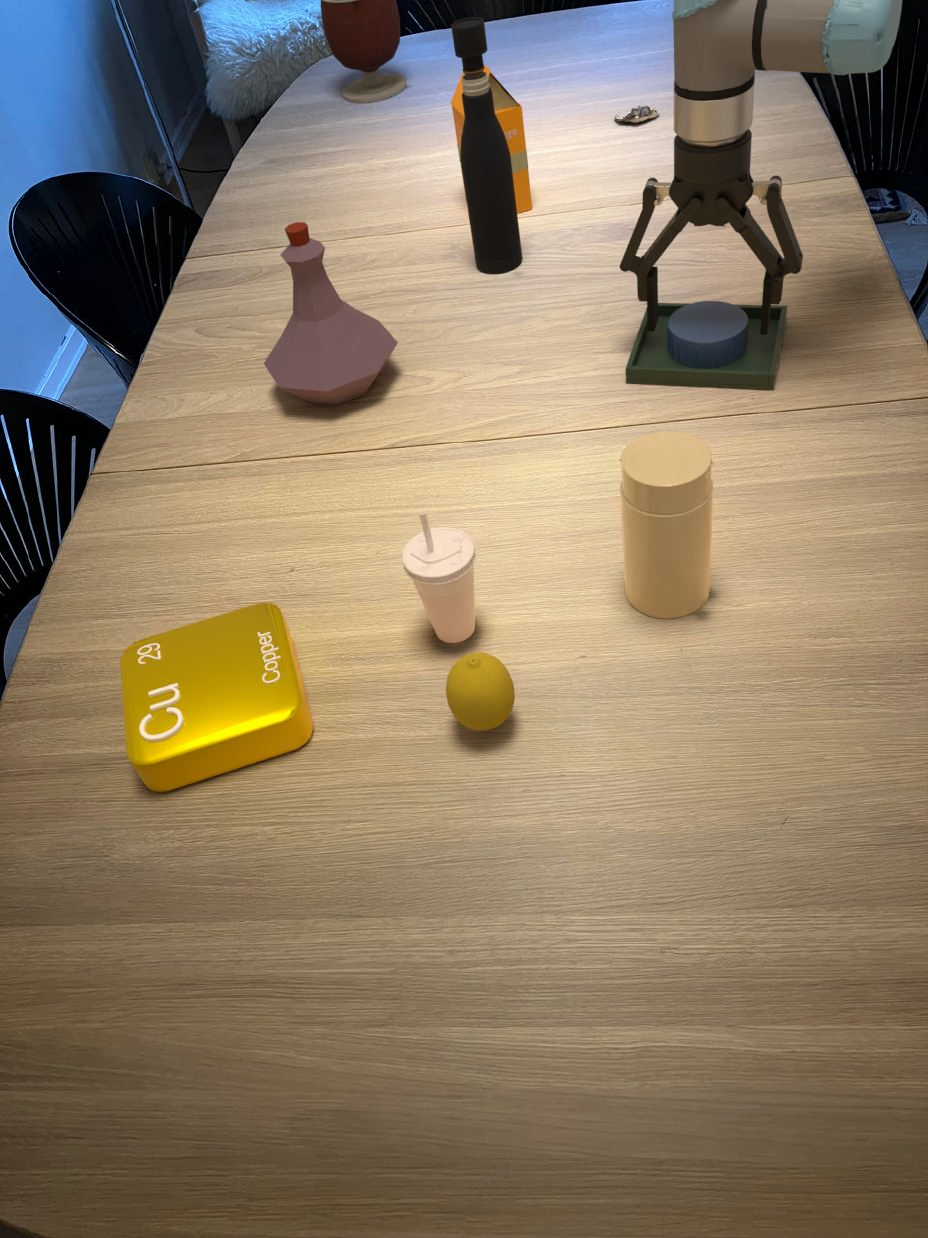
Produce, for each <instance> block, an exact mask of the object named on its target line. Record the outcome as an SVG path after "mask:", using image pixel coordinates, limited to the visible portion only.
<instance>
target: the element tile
mask: <svg viewBox="0 0 928 1238" xmlns="http://www.w3.org/2000/svg"><path fill="white" fill-rule="evenodd" d="M284 617H285V616H284V614H283V612H282V609H280V607H278V606H277V605H276V604H275V603H272V602H259V603H254V604H250V605H248V606H245V607H242V608H238V609H236V610H232V611H228V612H225V613H221V614H219V615H215V616H212V617H209V618H206V619H202V620H199V621H196V622H192V623H189V624H186V625H183V626H180V627H176V628H173V629H170V630H167V631H164V632H160V633H157V634H154V635H152V636H148V637H144V638H141V639H139V640H136V641H134V642H132V643H131V644H129V645H128V646H126V648H125V649H124V650H123V652H122V654H121V657H120V660H119V661H120V662H119V667H120V668H119V669H120V681H121V682H120V683H121V693H122V694H121V695H122V696H121V697H122V708H123V710H122V711H123V725H124V738H125V752H126V756H127V759H128V760H129V762H130V763H131V766H132V767H133V768H134V769H135V771H136V773H137V775H138V776H139V778H140V779H141V781H142V782H143V784H144V785H145V787H146V788H147V789H148V790H151V791H153V792H155V793H164V792H170V791H173V790H176V789H179V788H182V787H183V788H184V787H186V786H188V785H192V784H196V783H199V782H201V781H204V780H208V779H210V778H214V777H216V776H220V775H223V774H225V773H230V772H231V771H236V770H238V769H241V768H245V767H247V766H251V765H253V764H257V763H260V762H263V761H265V760H269V759H272V758H275V757H279V756H281V755H285V754H287V753H291V752H293V751H295V750H298V749H300V748H301V747H303V746H304V745H306V744H308V742H309V740H310V739H311V738H312V734H313V730H314V722H313V718H312V714H311V710H310V705H309V702H308V698H307V694H306V689H305V686H304V681H303V677H302V674H301V668H300V665H299V660H298V657H297V653H296V648H295V644H294V641H293V637H292V635H291V632H290V630H289V627H288V624H287V622H286V619H285V618H284Z"/></svg>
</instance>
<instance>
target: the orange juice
mask: <svg viewBox="0 0 928 1238" xmlns="http://www.w3.org/2000/svg"><path fill="white" fill-rule="evenodd" d="M484 67H485V69H484V70H483V71H484V72H486V73H487V76H488V78H489V80H488V82H489V84H490V85H489V88H491V90H492V94H493V103H494V111H495V114H496V116H497V119H498V121H499V123H500V125H501V127H502V130H503V132H504V134H505V138H506V141H507V144H508V147H509V151H510V155H511V164H512V173H513V181H514V190H515V199H516V207H517V215H518V214H521V213H524V212H527V210H528V211H531V210H533V203H532V192H531V182H530V173H529V159H528V150H527V144H526V135H525V134H526V133H525V124H524V116H523V115H524V114H523V106H522V105H521V104H520V103H519V102H518V101H517V100H516V99H515V98H514V97H513V96H512V94H511V93H510V92H509V91H508V90H507V89H506V88H505V87H504V85H502V83H501V82H500V81H499V80H498V79H497V77H496V76H495V75H494V74H493V73H492V70H491V69H490V68H489V67H488V66H486V65H485V64H484ZM464 75H465V74H464V73H463V72H462V73H461V76H460V78H459V80H458V83H457V85H456V88H455V90H454V93H453V95H452V98H451V101H450V105H451V110H452V117H453V123H454V130H455V136H456V143H457V145H456V146H457V152H458V159H459V164H460V165H461V161H460V154H461V137H462V131H463V125H464V119H465V116H464V109H463V102H462V94H463V92H464V91H463V89H462V88H463V85H462V77H463V76H464ZM460 171H461V172H462V168H461V167H460ZM461 177H462V178H463V174H462V173H461ZM462 184H463V185H464V181H463V180H462ZM463 190H464V192H465V188H464V187H463ZM464 198H466V194H465V193H464ZM465 202H466V203H467V201H466V200H465ZM530 209H531V210H530Z"/></svg>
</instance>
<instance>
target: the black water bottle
mask: <svg viewBox="0 0 928 1238" xmlns="http://www.w3.org/2000/svg"><path fill="white" fill-rule="evenodd" d="M450 27H451V28H450V29H451V34H452V41H453V49H454V54H455V57H456V58H460V59H461V63H462V73H464V74H465V75H464V76H463V77H462V85H463V88H462V89H463V91H464V92H463V94H462V102H463V109H464V116H465V119H464V125H463V131H462V137H461V154H460V159H459V162H460V161H461V164H460V169H461V168H462V171H461V175H462V174H463V177H462V182H463V181H464V184H463V189H464V188H465V191H464V195H465V194H466V197H465V202H466V201H467V202H466V207H467V214H468V221H469V227H470V235H471V241H472V247H473V253H474V260H475V266H476V269H477V270H479V271H480V272H481V273H484V274H490V275H497V274H498V275H499V274H503V273H507V272H508V273H509V272H510V271H513V270H515V269H516V268H518V267H519V266H520V265H521V264H522V262H523V252H522V243H521V234H520V227H519V217H518V214H517V207H516V199H515V190H514V181H513V173H512V164H511V155H510V151H509V147H508V144H507V141H506V138H505V134H504V132H503V130H502V127H501V125H500V123H499V121H498V119H497V116H496V114H495V111H494V103H493V94H492V90H491V88H489V85H490V84H489V82H488V80H489V78H488V76H487V73H486V72H484V71H483V70H484V69H485V67H484V65H485V63H484V57H483V55H484V54H486V53H487V51H488V43H487V36H486V35H487V34H486V27H485V20H484V19H483V18H482V17H478V16H471V17H469V16H468V17H463V18H461V19H458V20H456V21H454V22H453V23H452V24H451V26H450Z"/></svg>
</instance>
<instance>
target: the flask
mask: <svg viewBox="0 0 928 1238" xmlns="http://www.w3.org/2000/svg"><path fill="white" fill-rule="evenodd" d="M284 232H285V234H286V236H287V239H288V242H289V244H288V245H287V246H286V248H284V249H283V251H282V252H281V253H280V257H281V258H282V259H283V260H284V262H285V263H286V264H287V265H288V266H289V268H290V273H291V277H292V313H291V316H290V318H289V320H288V321H287V324H286V326H285V328H284V329H283V332H282V333H281V335H280V336H279V339H278V340H277V341H276V343H275V345H274V347H273V348H272V350H271V351H270V352H269V354H268V356H267V357H266V359H264V362H263V365H264V367H265V368H266V370H267V371H268V372H269V374H270V376H271V377H272V378H273V380H274V382H275V383H276V385H277V386H278V388H279V389H281V390H284V391H286V392H287V393H290V394H292V395H293V396H296V397H298V398H300V399H302V400H304V401H306V402H308V403H311V404H320V405H329V406H330V405H332V406H339V405H342V404H344V403H347V402H350V401H351V400H354V399H357V398H360V397H362V396H364V395H366V394H367V392H368V391H369V389H370V387H371V386H372V385H373V384H374V382H375V381H376V379H377V377H379V374H380V372H381V371H382V369H383V368H384V366H385V365H386V363H387V361H388V360H389V358H390V357H391V355H392V353H393V351H394V350H395V349H396V347H397V345H398V343H399V341H398V340H396V338H395V337H394V336H393V334H391V333H390V332H389V330H388V329H387V328H386V326H384V324H382V322H381V321H380V320H378V319H377V318H374V317H372V315H369V314H367V313H365V312H363V311H361V310H359V309H357V308H355V307H354V306H352V305H351V304H349V303H347V302H346V301H345V300H344V299H341V297H340V295H339V294H338V292H337V290H336V289H335V287H334V285H333V283H332V282H331V280H330V278H329V276H328V274H327V271H326V269H325V266H324V262H323V260H324V256H325V250H326V247H325V246H324V244H323V243H322V242H321V241H320V240H317V239H314V238H311V237H310V232H309V226H308V224H307V223H306V222H305V221H296V222H293V223H290V224H288V225H287V226H286V227H285V228H284Z"/></svg>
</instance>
